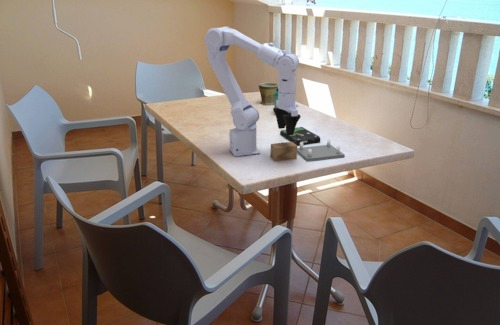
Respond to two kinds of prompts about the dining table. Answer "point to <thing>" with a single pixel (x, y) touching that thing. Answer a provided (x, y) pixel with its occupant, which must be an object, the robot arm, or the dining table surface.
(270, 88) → the olive green plant pot
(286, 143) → the walnut block
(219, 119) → the dining table surface
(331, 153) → the standoff plate
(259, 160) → the dining table surface
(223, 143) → the dining table surface
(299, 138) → the disk drive
